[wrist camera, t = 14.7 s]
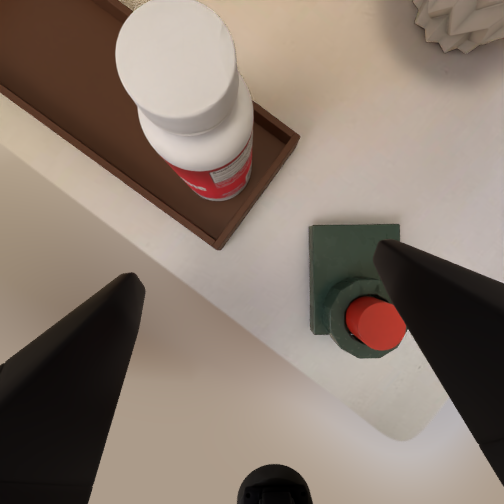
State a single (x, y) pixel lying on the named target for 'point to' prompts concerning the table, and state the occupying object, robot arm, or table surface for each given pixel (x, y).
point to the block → (345, 279)
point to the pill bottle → (189, 93)
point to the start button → (375, 323)
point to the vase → (461, 22)
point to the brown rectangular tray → (116, 108)
